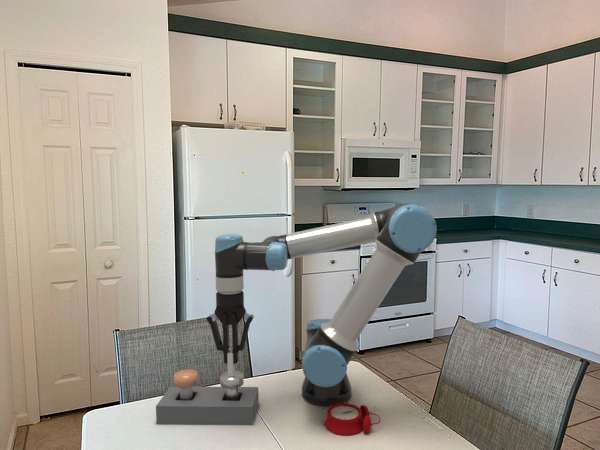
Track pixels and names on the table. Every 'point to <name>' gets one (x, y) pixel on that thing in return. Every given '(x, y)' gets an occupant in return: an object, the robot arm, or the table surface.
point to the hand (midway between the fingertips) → (231, 374)
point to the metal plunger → (232, 385)
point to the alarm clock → (348, 419)
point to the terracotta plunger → (186, 383)
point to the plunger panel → (208, 407)
